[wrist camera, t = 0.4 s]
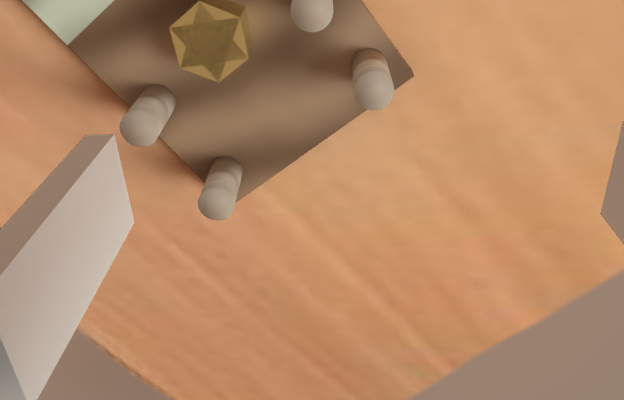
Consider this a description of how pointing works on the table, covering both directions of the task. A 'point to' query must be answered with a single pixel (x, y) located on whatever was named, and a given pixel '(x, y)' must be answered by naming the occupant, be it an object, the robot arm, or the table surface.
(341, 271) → the table surface
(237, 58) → the wooden star polyhedron
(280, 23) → the board
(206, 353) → the table surface
